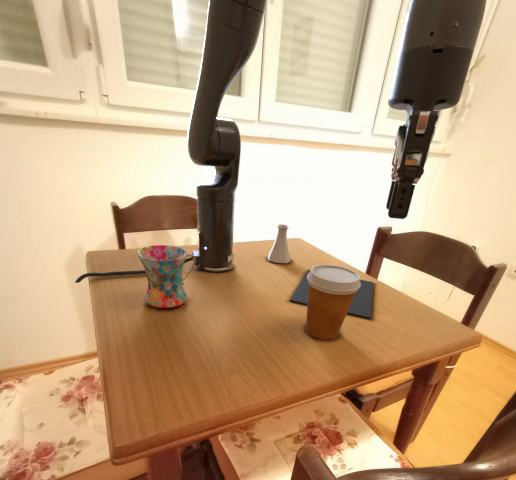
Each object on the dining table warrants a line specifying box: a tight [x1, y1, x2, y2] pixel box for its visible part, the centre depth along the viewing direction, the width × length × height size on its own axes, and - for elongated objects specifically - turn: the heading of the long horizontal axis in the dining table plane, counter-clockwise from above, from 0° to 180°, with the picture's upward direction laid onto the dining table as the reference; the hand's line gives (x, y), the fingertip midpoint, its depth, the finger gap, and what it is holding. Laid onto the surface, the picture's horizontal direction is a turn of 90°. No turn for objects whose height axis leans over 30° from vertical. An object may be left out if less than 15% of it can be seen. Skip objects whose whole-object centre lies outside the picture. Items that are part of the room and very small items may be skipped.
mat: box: [289, 269, 374, 320], centre depth 78 cm, size 22×18×1 cm
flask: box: [267, 224, 292, 264], centre depth 92 cm, size 7×7×10 cm
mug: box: [136, 244, 196, 309], centre depth 64 cm, size 12×9×11 cm
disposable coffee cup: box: [305, 264, 361, 340], centre depth 58 cm, size 10×10×12 cm
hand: (394, 213), depth 42 cm, fingers open, 8 cm apart
